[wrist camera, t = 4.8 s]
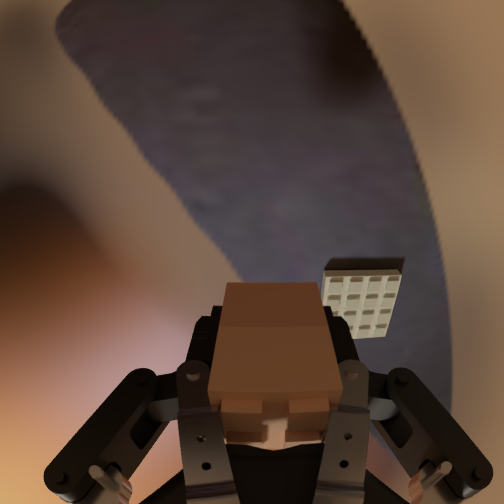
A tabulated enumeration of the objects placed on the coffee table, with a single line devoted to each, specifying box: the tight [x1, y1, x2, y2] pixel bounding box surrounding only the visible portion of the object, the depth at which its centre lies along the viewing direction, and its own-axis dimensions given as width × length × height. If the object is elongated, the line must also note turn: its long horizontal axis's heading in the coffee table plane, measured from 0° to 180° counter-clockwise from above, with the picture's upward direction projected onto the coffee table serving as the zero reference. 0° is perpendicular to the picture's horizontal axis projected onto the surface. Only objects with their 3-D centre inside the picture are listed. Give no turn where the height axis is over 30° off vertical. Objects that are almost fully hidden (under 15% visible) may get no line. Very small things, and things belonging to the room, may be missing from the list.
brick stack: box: [207, 282, 343, 449], centre depth 11 cm, size 4×4×6 cm
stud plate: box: [321, 269, 402, 339], centre depth 30 cm, size 8×8×2 cm
